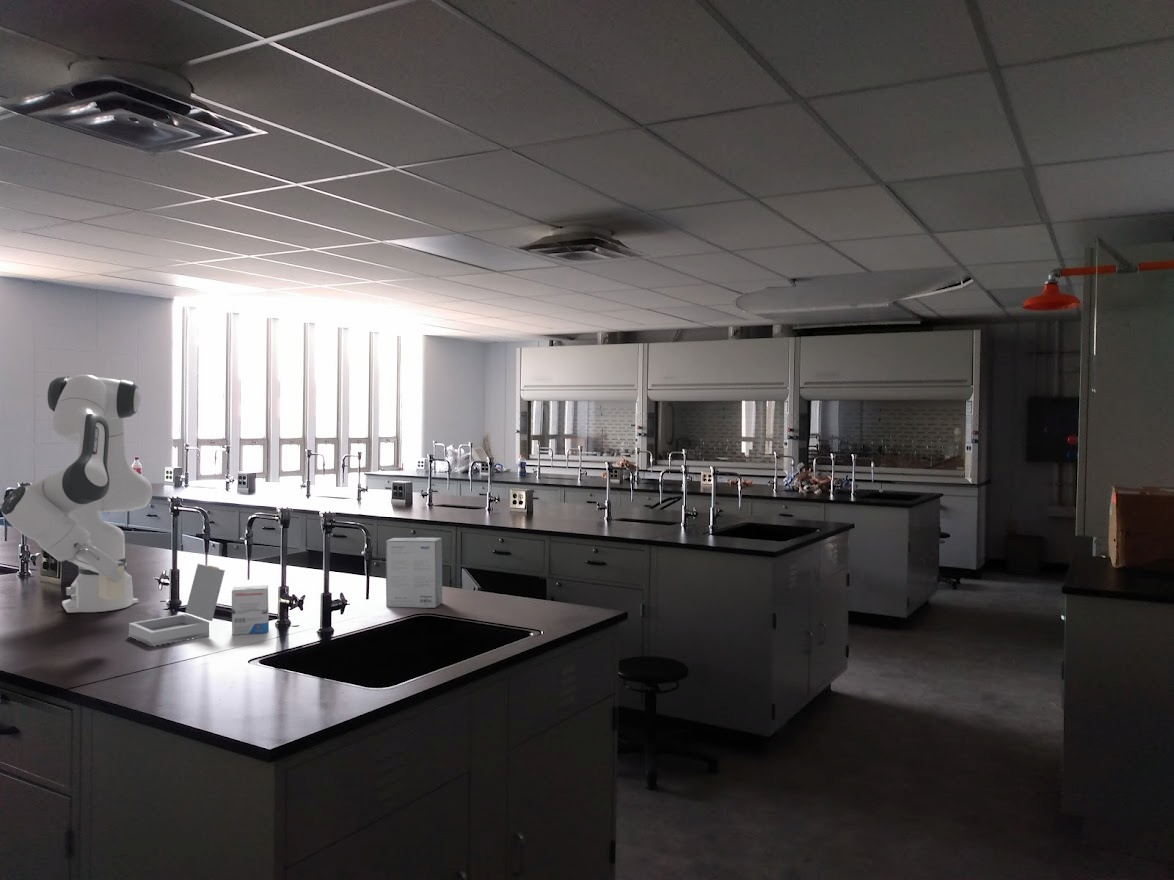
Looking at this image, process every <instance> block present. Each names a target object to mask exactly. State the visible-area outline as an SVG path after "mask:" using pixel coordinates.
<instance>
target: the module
mask: <svg viewBox="0 0 1174 880" xmlns="http://www.w3.org/2000/svg"><path fill="white" fill-rule="evenodd" d="M114 561H115V562H116V563H117V564H118V567H117V569H116V571H117V572H118V573H119V574H120V575H121V576H122V579H121V580H120V581H119V582H115V581H113V580H112V579H111V578H110V577H108V576H104V575H102V574H99V597H100V598H103V599H105V600H110V599H117V598H124V562H121V561H118V560H114Z"/></svg>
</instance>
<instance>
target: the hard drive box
mask: <svg viewBox="0 0 1174 880" xmlns="http://www.w3.org/2000/svg"><path fill="white" fill-rule="evenodd" d="M442 540H443V539H442V537H392V538H389V539H387V540H385V598H386V600H385V601H386V603H385V604H386V607H387V608H419V609H423V608H424V609H427V608H428V609H429V608H431V609H432V608H437V607H439V606H440V605H441V604H443V549H442V548H443V541H442Z"/></svg>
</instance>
